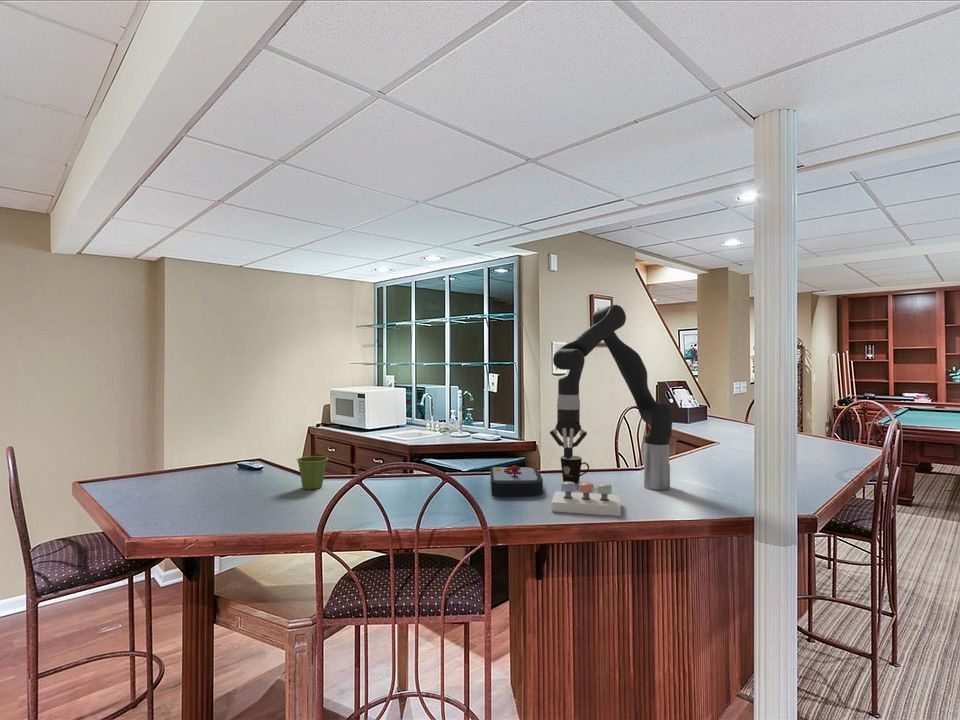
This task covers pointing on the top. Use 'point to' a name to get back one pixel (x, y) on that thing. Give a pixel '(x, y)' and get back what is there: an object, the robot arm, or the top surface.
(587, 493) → the terracotta button
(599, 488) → the sage button
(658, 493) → the top surface
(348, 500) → the top surface
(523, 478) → the arcade joystick
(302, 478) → the plant pot
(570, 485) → the slate button
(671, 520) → the top surface
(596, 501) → the console
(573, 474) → the coffee mug
